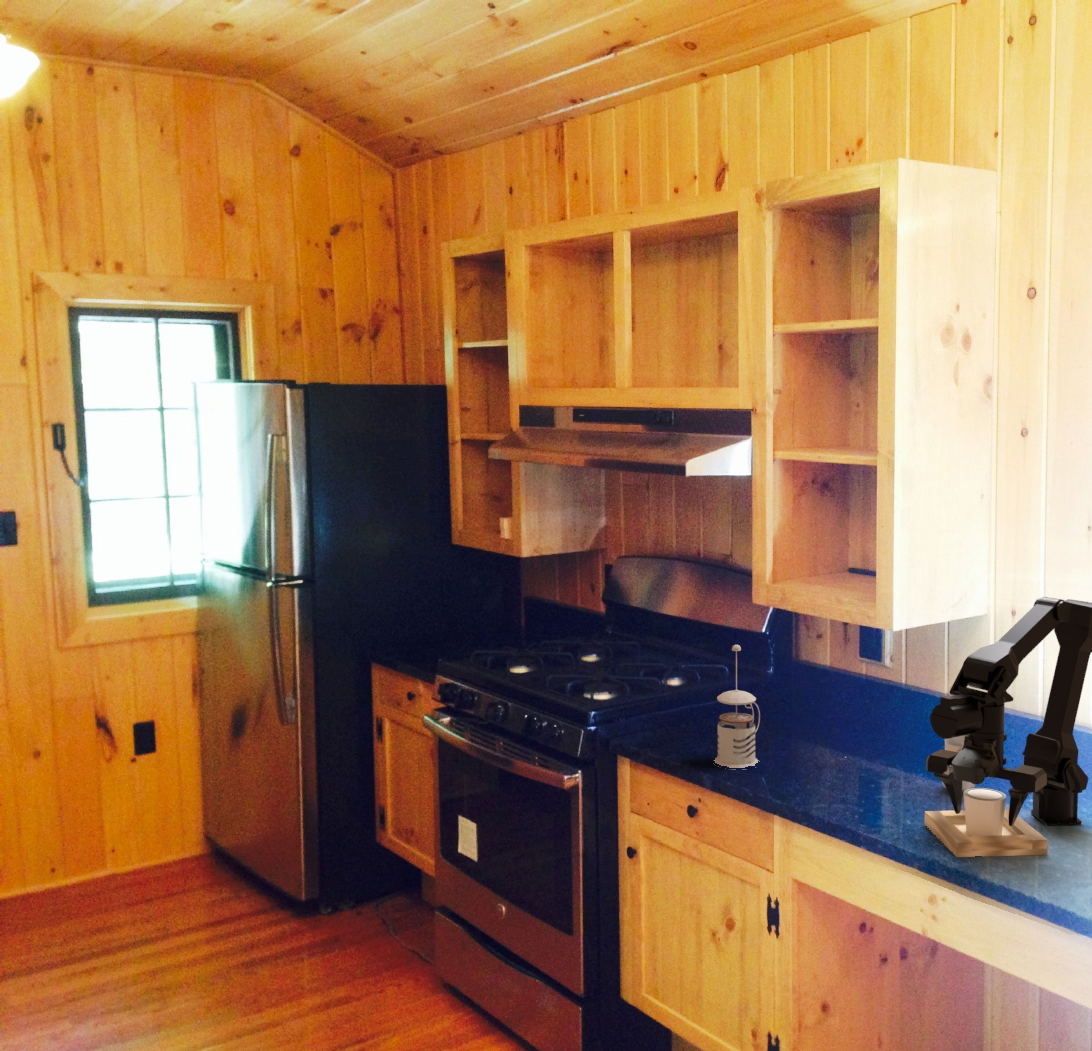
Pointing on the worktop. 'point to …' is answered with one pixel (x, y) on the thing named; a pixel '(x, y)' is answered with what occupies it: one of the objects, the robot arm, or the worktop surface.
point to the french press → (736, 729)
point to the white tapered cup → (984, 811)
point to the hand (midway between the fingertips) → (984, 819)
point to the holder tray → (963, 845)
